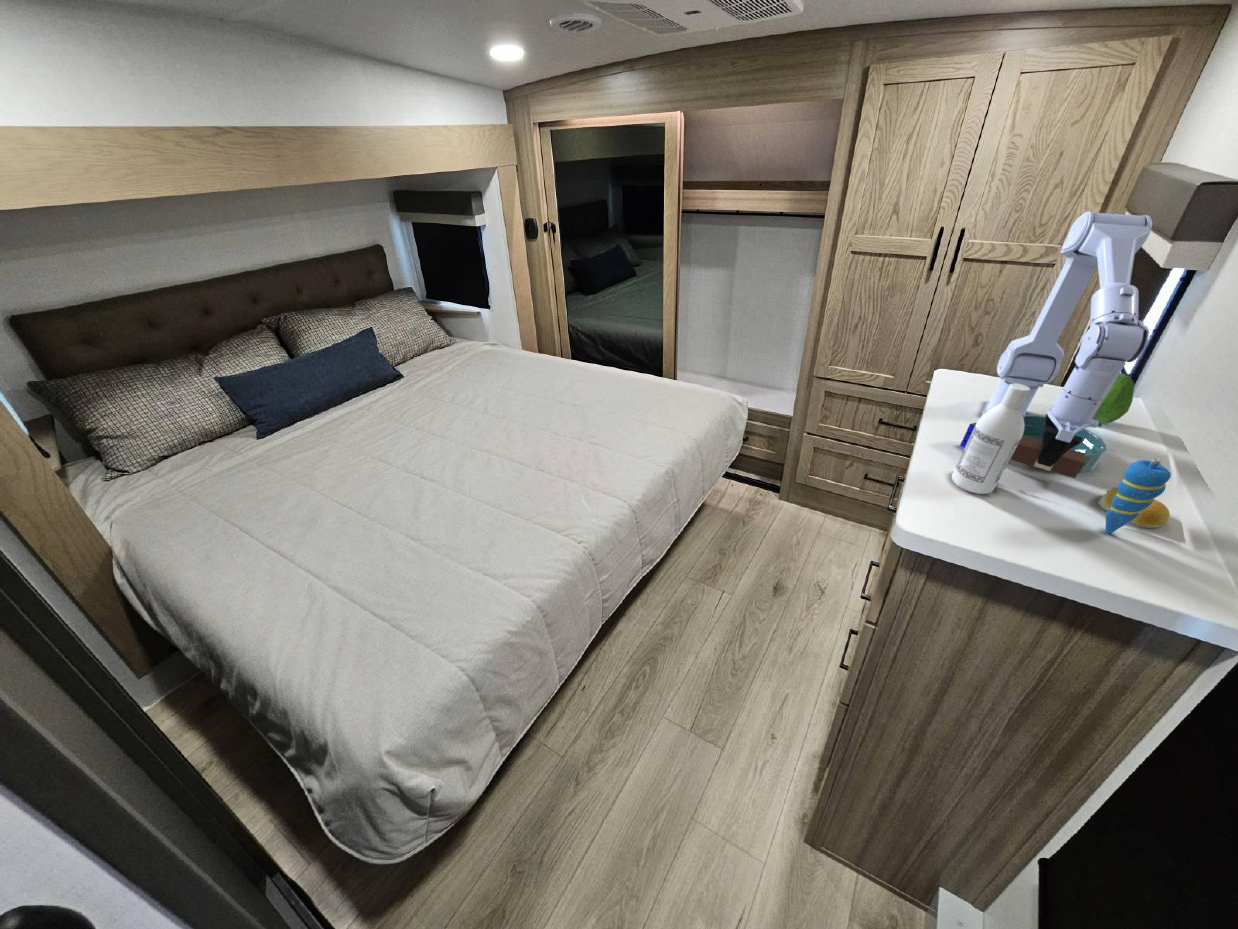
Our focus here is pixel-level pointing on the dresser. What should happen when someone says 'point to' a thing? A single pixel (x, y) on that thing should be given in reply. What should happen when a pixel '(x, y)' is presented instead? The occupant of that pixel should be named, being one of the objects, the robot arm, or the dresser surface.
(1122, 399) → the avocado
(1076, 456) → the snack bar
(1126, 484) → the ornament
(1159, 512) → the bread roll
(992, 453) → the bath foam
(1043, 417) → the bowl
